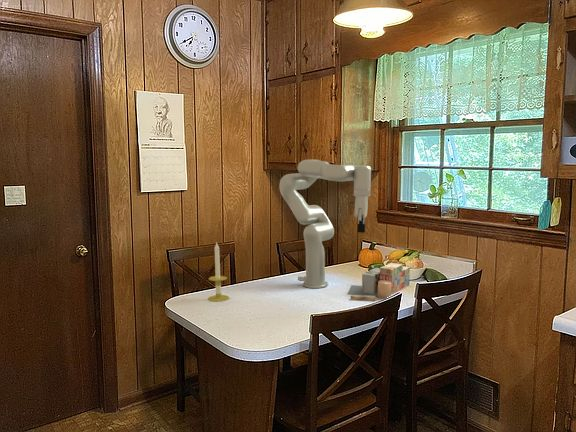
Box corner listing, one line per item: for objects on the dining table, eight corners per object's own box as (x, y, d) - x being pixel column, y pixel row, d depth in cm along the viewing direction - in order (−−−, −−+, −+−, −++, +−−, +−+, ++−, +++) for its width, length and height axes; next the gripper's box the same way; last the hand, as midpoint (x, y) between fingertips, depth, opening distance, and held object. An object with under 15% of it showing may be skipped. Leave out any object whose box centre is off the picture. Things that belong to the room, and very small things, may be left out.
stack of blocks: (397, 283, 246) (398, 259, 244) (409, 285, 242) (410, 261, 240) (378, 292, 229) (379, 267, 227) (391, 294, 225) (392, 269, 223)
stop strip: (350, 300, 218) (350, 296, 218) (350, 299, 220) (350, 295, 219) (375, 301, 216) (375, 297, 216) (375, 300, 217) (375, 296, 217)
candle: (214, 294, 231) (212, 239, 228) (233, 296, 228) (231, 240, 225) (203, 300, 222) (201, 243, 219) (223, 302, 219) (221, 244, 215)
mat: (347, 294, 227) (347, 294, 227) (351, 286, 242) (351, 285, 242) (381, 296, 223) (381, 295, 223) (383, 287, 239) (383, 286, 238)
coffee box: (374, 275, 224) (387, 268, 238) (361, 274, 228) (375, 267, 241) (374, 294, 225) (387, 286, 239) (361, 292, 229) (374, 284, 242)
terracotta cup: (376, 298, 220) (377, 283, 218) (377, 293, 226) (378, 279, 224) (390, 299, 218) (391, 285, 217) (390, 295, 224) (391, 280, 223)
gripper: (356, 191, 228) (355, 229, 231) (351, 193, 214) (350, 234, 217) (372, 191, 226) (371, 230, 229) (368, 194, 212) (367, 235, 214)
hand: (361, 232), depth 223 cm, fingers closed
